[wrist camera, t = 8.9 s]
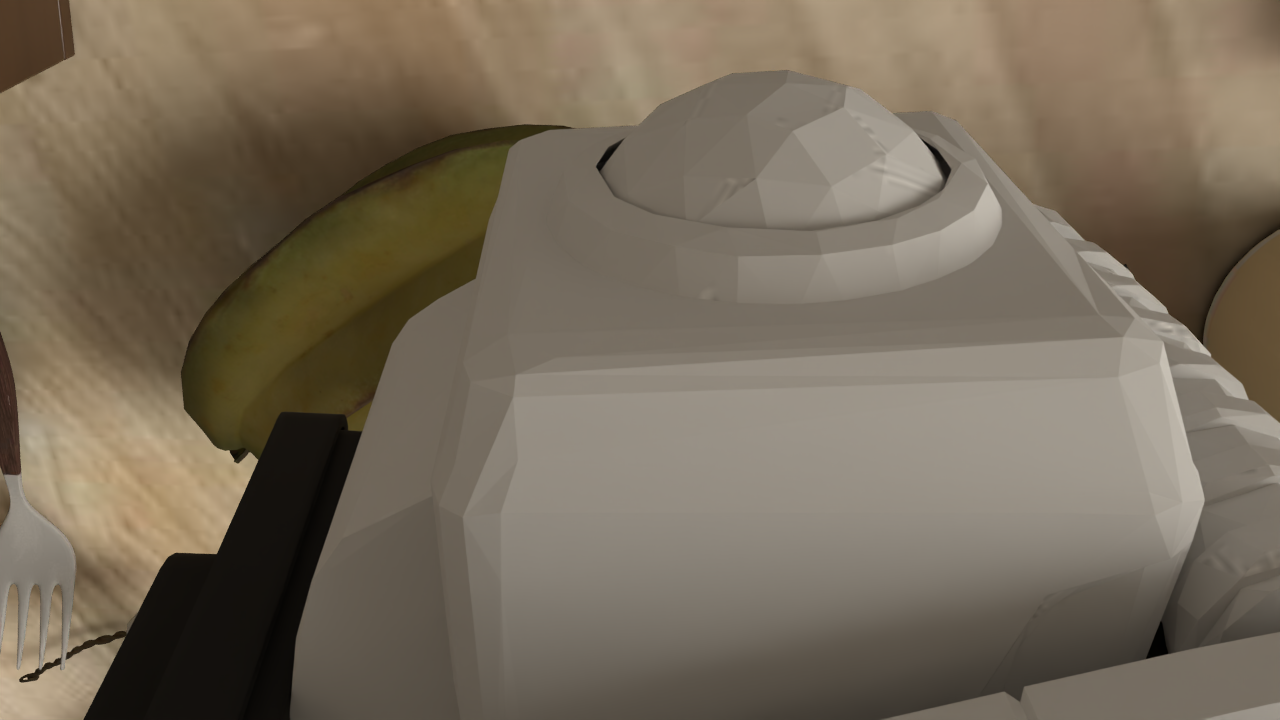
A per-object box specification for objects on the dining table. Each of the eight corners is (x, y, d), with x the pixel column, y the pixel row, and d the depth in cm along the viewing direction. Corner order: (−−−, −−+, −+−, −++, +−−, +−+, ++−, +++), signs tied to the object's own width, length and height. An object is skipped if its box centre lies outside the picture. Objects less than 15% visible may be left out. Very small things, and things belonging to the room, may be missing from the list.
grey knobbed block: (1149, -38, 9) (999, 794, 14) (331, -2, 9) (471, 822, 14) (1890, 264, 4) (1235, 1417, 9) (-36, 357, 4) (394, 1465, 9)
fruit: (226, 42, 30) (147, 99, 25) (653, 111, 32) (675, 180, 26) (221, 403, 35) (154, 522, 29) (591, 446, 37) (599, 568, 31)
